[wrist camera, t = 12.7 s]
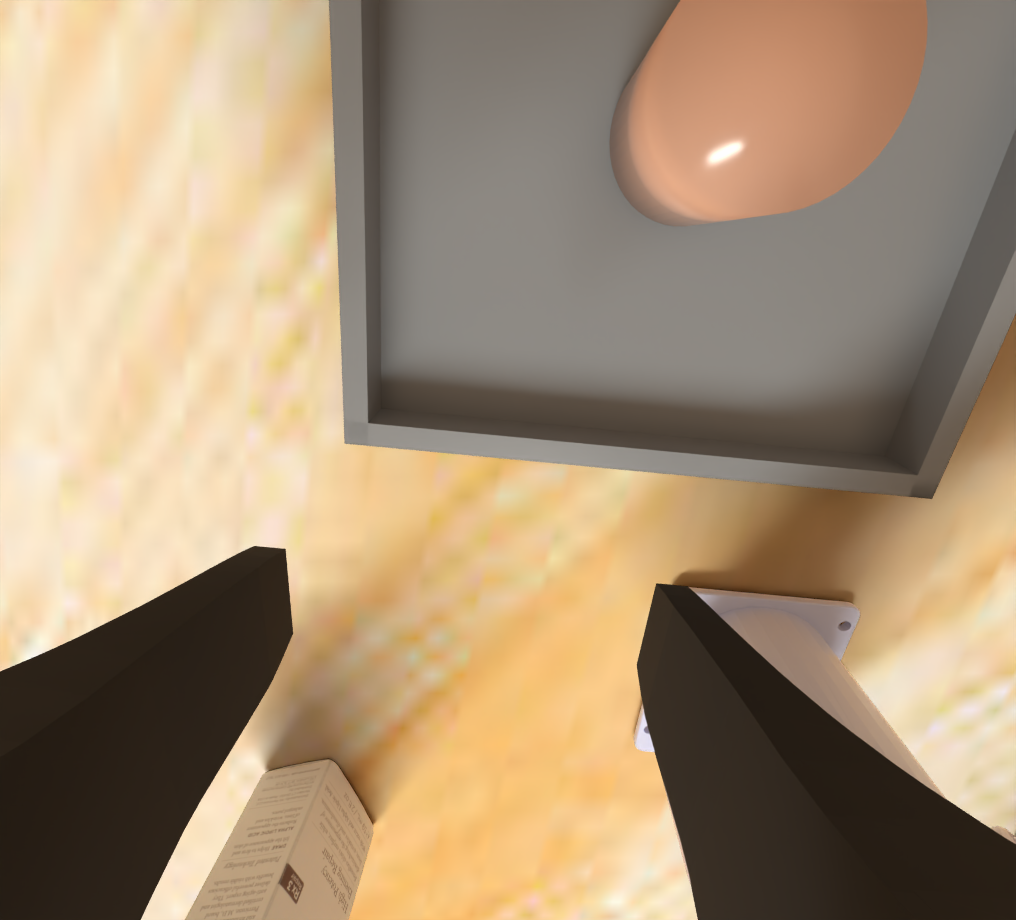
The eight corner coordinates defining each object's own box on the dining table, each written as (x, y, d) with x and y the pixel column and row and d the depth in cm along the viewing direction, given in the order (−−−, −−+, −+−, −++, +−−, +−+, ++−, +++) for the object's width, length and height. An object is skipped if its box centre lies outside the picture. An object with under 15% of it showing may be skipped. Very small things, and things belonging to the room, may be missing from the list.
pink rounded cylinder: (751, 233, 16) (873, 224, 10) (598, 219, 16) (639, 203, 10) (796, 44, 14) (972, -88, 9) (624, 28, 14) (690, -115, 9)
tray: (884, 469, 20) (931, 498, 17) (366, 420, 20) (344, 443, 17) (1196, -305, 12) (1354, -434, 10) (351, -392, 12) (310, -544, 10)
